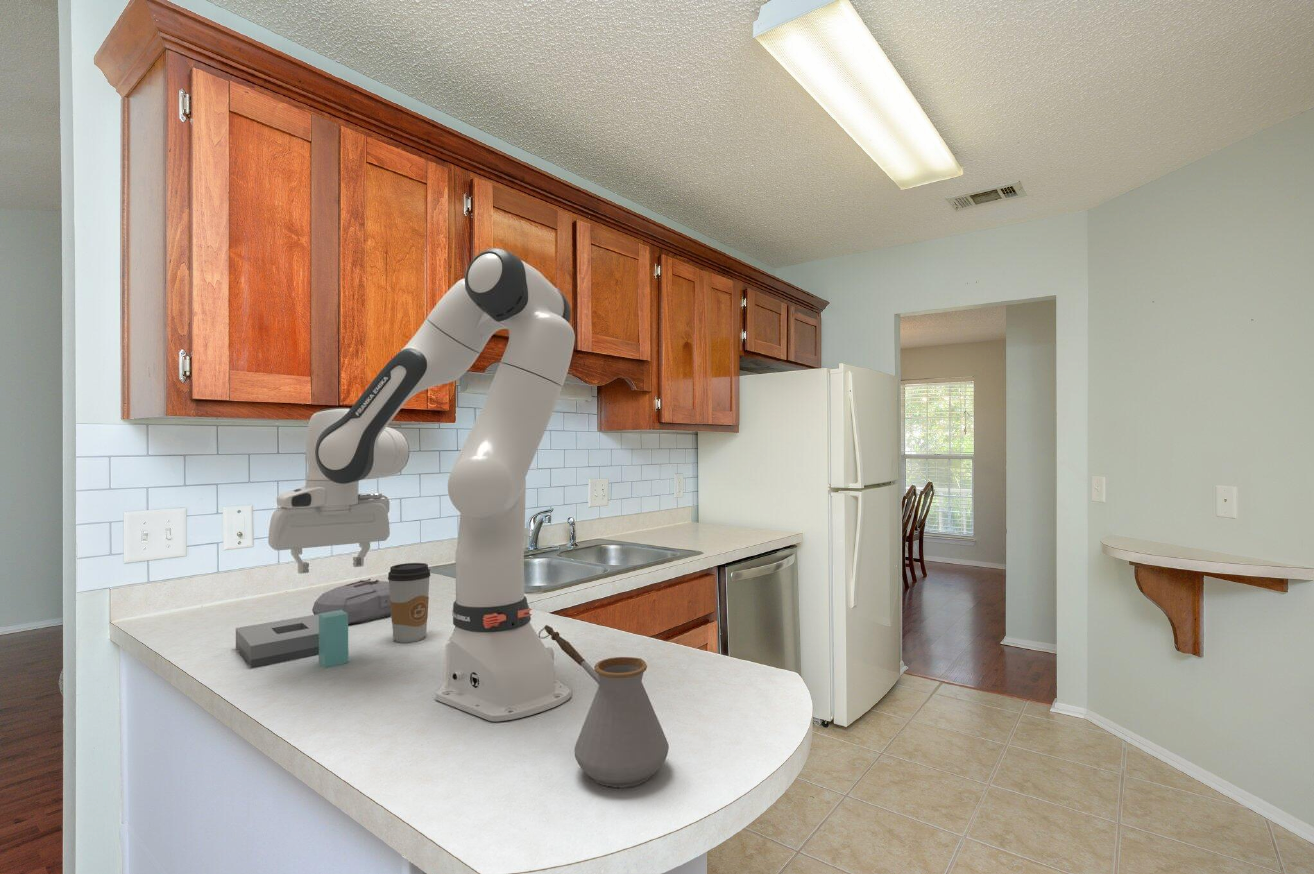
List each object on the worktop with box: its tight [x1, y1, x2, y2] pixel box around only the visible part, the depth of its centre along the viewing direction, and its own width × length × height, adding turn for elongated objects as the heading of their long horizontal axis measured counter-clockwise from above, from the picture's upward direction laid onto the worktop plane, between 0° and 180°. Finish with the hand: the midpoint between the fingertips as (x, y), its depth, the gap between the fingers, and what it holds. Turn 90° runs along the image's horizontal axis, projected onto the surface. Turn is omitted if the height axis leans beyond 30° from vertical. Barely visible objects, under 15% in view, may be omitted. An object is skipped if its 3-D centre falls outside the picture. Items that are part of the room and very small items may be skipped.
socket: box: [235, 614, 319, 669], centre depth 128 cm, size 16×16×4 cm
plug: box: [318, 610, 349, 669], centre depth 120 cm, size 4×4×9 cm
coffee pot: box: [538, 624, 670, 789], centre depth 82 cm, size 21×12×15 cm, turn 46°
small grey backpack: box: [311, 578, 391, 625], centre depth 152 cm, size 15×8×20 cm
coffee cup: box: [387, 562, 431, 644], centre depth 134 cm, size 8×8×15 cm
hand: (331, 569), depth 120 cm, fingers open, 8 cm apart
